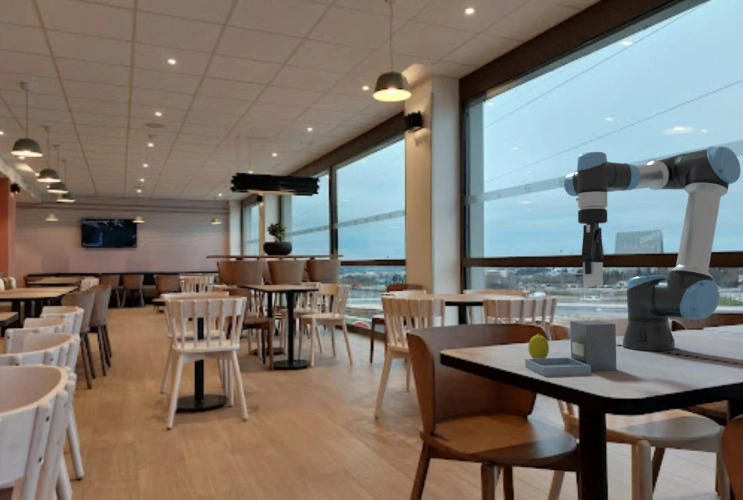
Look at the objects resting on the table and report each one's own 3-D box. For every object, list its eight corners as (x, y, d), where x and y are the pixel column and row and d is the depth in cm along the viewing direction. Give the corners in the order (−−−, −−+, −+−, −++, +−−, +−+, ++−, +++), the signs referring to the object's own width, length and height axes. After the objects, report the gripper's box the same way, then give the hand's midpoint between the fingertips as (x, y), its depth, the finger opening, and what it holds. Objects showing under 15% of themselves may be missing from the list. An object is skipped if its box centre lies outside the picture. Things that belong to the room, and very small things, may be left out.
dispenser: (600, 363, 152) (599, 320, 152) (618, 370, 143) (616, 323, 143) (570, 364, 151) (569, 321, 152) (586, 371, 142) (584, 324, 143)
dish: (569, 365, 151) (568, 357, 151) (591, 374, 139) (590, 365, 139) (525, 366, 150) (525, 358, 150) (543, 375, 137) (543, 367, 138)
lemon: (546, 360, 159) (546, 332, 159) (551, 363, 153) (550, 335, 153) (527, 360, 159) (526, 332, 159) (530, 363, 154) (530, 335, 154)
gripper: (586, 213, 164) (587, 284, 164) (568, 205, 143) (569, 287, 143) (613, 212, 161) (614, 284, 160) (599, 203, 139) (600, 287, 139)
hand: (593, 286), depth 151 cm, fingers open, 13 cm apart
